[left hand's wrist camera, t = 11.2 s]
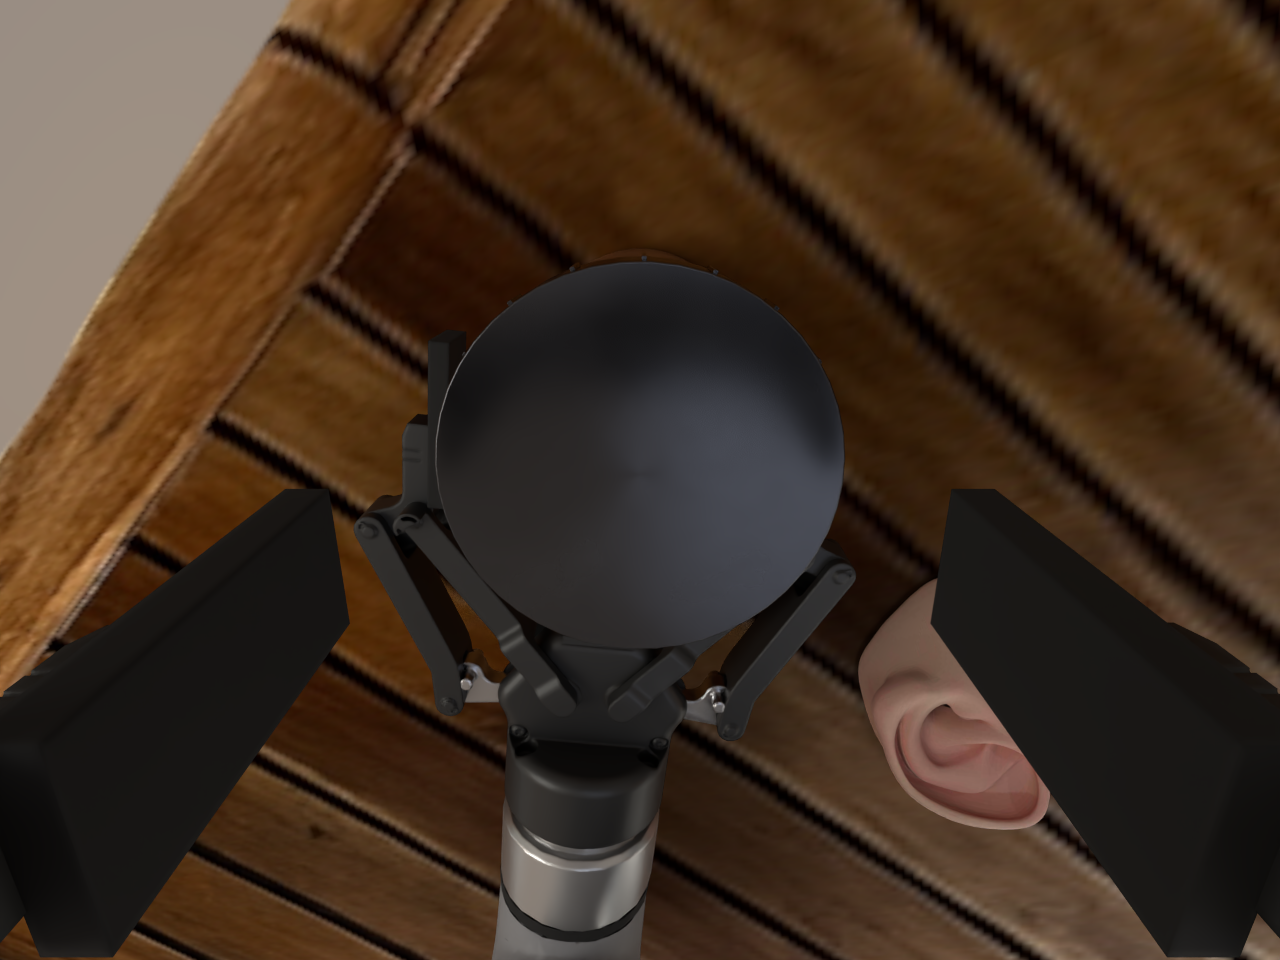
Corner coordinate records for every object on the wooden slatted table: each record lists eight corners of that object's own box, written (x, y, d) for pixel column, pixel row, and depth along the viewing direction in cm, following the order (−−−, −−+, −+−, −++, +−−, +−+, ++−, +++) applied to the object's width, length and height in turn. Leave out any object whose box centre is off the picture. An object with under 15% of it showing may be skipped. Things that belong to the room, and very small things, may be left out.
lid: (881, 521, 20) (907, 555, 18) (568, 661, 22) (561, 706, 20) (731, 177, 17) (743, 173, 15) (380, 369, 19) (349, 388, 17)
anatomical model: (917, 603, 34) (1148, 639, 35) (889, 564, 38) (1098, 597, 38) (841, 819, 38) (1047, 847, 39) (824, 766, 42) (1012, 792, 43)
